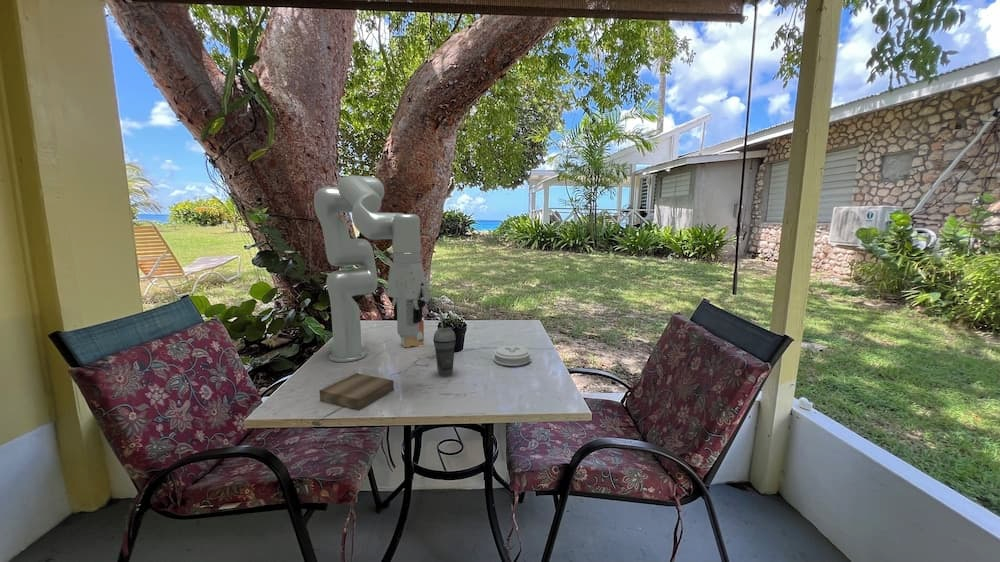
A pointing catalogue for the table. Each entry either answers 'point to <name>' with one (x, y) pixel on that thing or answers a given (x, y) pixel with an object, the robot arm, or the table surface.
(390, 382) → the walnut base
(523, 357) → the lid
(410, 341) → the small box
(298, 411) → the table surface
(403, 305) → the energy drink can
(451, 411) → the table surface
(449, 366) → the beverage cup
